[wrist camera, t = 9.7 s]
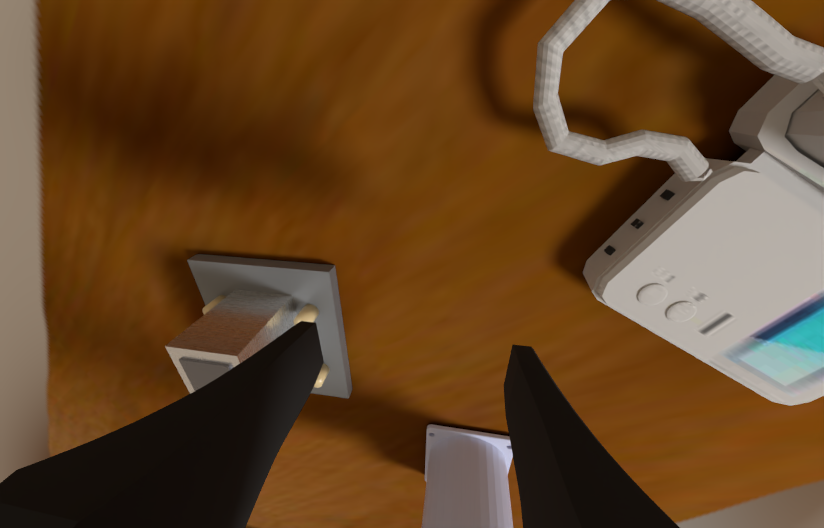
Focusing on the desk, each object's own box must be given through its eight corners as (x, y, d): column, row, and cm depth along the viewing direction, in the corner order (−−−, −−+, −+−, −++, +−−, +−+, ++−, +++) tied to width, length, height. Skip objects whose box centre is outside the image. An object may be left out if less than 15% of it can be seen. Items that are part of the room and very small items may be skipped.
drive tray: (352, 389, 27) (342, 413, 25) (243, 373, 29) (225, 395, 27) (334, 265, 21) (319, 283, 19) (197, 253, 23) (169, 269, 20)
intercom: (692, -202, 8) (1264, 270, 10) (617, -101, 11) (1047, 224, 14) (433, 220, 14) (820, 443, 17) (440, 195, 18) (754, 380, 20)
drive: (309, 372, 26) (268, 443, 20) (261, 365, 26) (208, 432, 21) (292, 295, 22) (235, 358, 16) (235, 289, 22) (162, 348, 17)
